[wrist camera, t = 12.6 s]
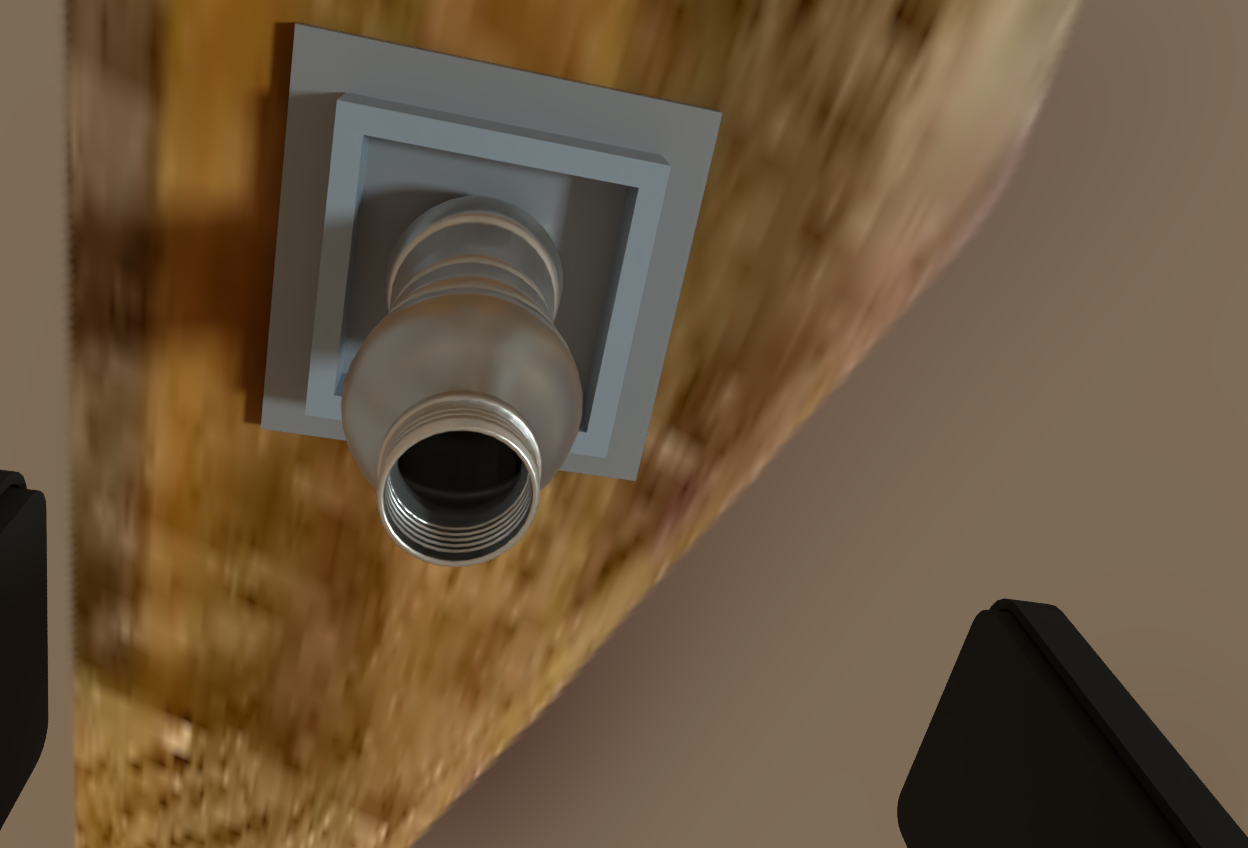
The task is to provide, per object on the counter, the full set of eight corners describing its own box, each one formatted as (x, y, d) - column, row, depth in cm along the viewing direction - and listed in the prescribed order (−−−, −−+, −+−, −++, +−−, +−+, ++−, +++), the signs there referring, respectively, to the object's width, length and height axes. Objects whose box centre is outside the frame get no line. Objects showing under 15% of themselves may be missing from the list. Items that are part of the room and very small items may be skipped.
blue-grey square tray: (298, 22, 38) (282, 27, 35) (718, 110, 41) (736, 121, 38) (264, 420, 44) (247, 454, 41) (633, 472, 47) (643, 507, 44)
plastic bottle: (592, 273, 42) (665, 502, 24) (466, 376, 43) (445, 670, 25) (485, 147, 40) (476, 295, 22) (355, 260, 41) (242, 491, 23)
